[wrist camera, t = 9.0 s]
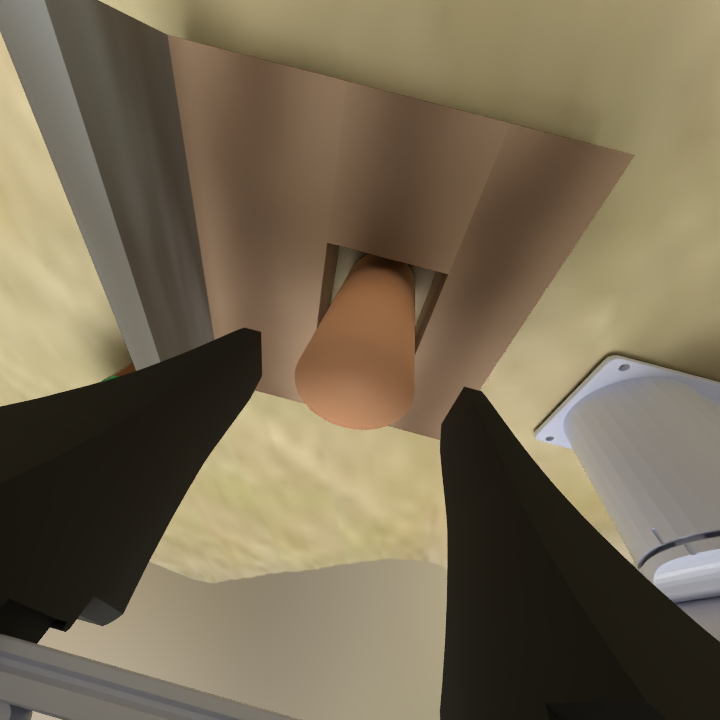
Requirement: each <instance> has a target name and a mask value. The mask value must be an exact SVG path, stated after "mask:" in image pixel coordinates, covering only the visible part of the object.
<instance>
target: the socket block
mask: <svg viewBox="0 0 720 720" xmlns="http://www.w3.org/2000/svg"><path fill="white" fill-rule="evenodd" d="M0 32H1V34H2V37H3V39H4V42H5V44H6V47H7V49H8V52H9V54H10V57H11V59H12V62H13V64H14V67H15V69H16V72H17V74H18V77H19V79H20V82H21V84H22V87H23V89H24V91H25V94H26V96H27V99H28V101H29V104H30V106H31V109H32V111H33V114H34V116H35V119H36V121H37V124H38V126H39V129H40V131H41V134H42V136H43V139H44V141H45V144H46V146H47V149H48V151H49V154H50V156H51V159H52V161H53V164H54V166H55V169H56V171H57V174H58V176H59V179H60V181H61V184H62V186H63V189H64V191H65V194H66V196H67V199H68V201H69V204H70V206H71V209H72V211H73V214H74V216H75V219H76V221H77V224H78V226H79V229H80V231H81V234H82V236H83V239H84V241H85V244H86V246H87V249H88V251H89V254H90V256H91V259H92V261H93V264H94V266H95V269H96V271H97V274H98V276H99V279H100V281H101V284H102V286H103V289H104V291H105V294H106V296H107V299H108V301H109V304H110V306H111V309H112V311H113V314H114V316H115V319H116V321H117V324H118V326H119V329H120V331H121V334H122V336H123V339H124V341H125V344H126V346H127V349H128V351H129V354H130V356H131V359H132V361H133V364H134V366H135V369H136V371H137V370H140V369H143V368H146V367H149V366H151V365H154V364H157V363H159V362H162V361H164V360H167V359H170V358H172V357H175V356H177V355H180V354H183V353H185V352H187V351H190V350H192V349H194V348H197V347H199V346H201V345H204V344H206V343H208V342H211V341H213V340H215V339H218V338H220V337H222V336H224V335H227V334H229V333H231V332H234V331H236V330H239V329H241V328H244V327H245V328H249V329H252V330H256V331H260V332H261V345H262V377H261V379H260V381H259V383H258V385H257V387H256V389H255V390H256V391H260V392H263V393H267V394H271V395H274V396H278V397H282V398H286V399H289V400H293V401H297V402H301V403H304V401H303V400H302V399H301V397H300V395H299V393H298V391H297V388H296V384H295V369H296V365H297V363H298V361H299V359H300V357H301V355H302V354H303V352H304V350H305V348H306V347H307V345H308V343H309V342H310V340H311V338H312V336H313V335H314V333H315V331H316V330H317V328H318V326H319V324H320V323H321V321H322V319H323V317H324V316H325V314H326V312H327V311H328V309H329V307H330V303H331V297H332V290H333V283H334V276H335V270H336V263H337V256H338V250H339V246H342V247H346V248H350V249H353V250H357V251H361V252H365V253H369V254H373V255H376V256H380V257H384V258H388V259H392V260H395V261H399V262H403V263H407V264H411V265H414V266H418V267H422V268H426V269H430V270H433V271H437V273H436V275H435V278H434V280H433V283H432V286H431V288H430V291H429V293H428V296H427V299H426V301H425V304H424V306H423V309H422V312H421V314H420V317H419V319H418V322H417V325H416V327H415V391H414V399H413V402H412V405H411V407H410V409H409V410H408V411H407V413H406V414H405V415H404V416H403V417H402V418H400V419H399V420H398V421H396V422H394V423H392V424H390V425H388V426H390V427H394V428H398V429H401V430H405V431H409V432H413V433H416V434H420V435H424V436H427V437H431V438H435V439H439V440H440V437H441V424H442V422H443V420H444V419H445V417H446V415H447V414H448V412H449V410H450V409H451V407H452V406H453V404H454V402H455V401H456V399H457V397H458V396H459V394H460V392H461V391H462V389H463V387H468V388H472V389H475V390H480V388H481V387H482V385H483V384H484V382H485V381H486V379H487V378H488V376H489V375H490V373H491V372H492V370H493V369H494V367H495V366H496V364H497V363H498V361H499V359H500V358H501V356H502V355H503V353H504V352H505V350H506V349H507V347H508V346H509V344H510V343H511V341H512V340H513V338H514V337H515V335H516V334H517V332H518V331H519V329H520V328H521V326H522V325H523V323H524V322H525V320H526V319H527V317H528V316H529V314H530V313H531V311H532V310H533V308H534V307H535V305H536V304H537V302H538V301H539V299H540V298H541V296H542V295H543V293H544V292H545V290H546V288H547V287H548V285H549V284H550V282H551V281H552V279H553V278H554V276H555V275H556V273H557V272H558V270H559V269H560V267H561V266H562V264H563V263H564V261H565V260H566V258H567V257H568V255H569V254H570V252H571V251H572V249H573V248H574V246H575V245H576V243H577V242H578V240H579V239H580V237H581V236H582V234H583V233H584V231H585V230H586V228H587V227H588V225H589V224H590V222H591V221H592V219H593V217H594V216H595V214H596V213H597V211H598V210H599V208H600V207H601V205H602V204H603V202H604V201H605V199H606V198H607V196H608V195H609V193H610V192H611V190H612V189H613V187H614V186H615V184H616V183H617V181H618V180H619V178H620V177H621V175H622V174H623V172H624V171H625V169H626V168H627V166H628V165H629V163H630V162H631V160H632V159H633V157H634V156H635V155H632V154H628V153H624V152H620V151H617V150H613V149H609V148H605V147H601V146H597V145H593V144H589V143H585V142H582V141H578V140H574V139H570V138H566V137H562V136H558V135H554V134H550V133H547V132H543V131H539V130H535V129H531V128H527V127H523V126H519V125H515V124H512V123H508V122H504V121H500V120H496V119H492V118H488V117H484V116H480V115H477V114H473V113H469V112H465V111H461V110H457V109H453V108H449V107H445V106H442V105H438V104H434V103H430V102H426V101H422V100H418V99H414V98H410V97H407V96H403V95H399V94H395V93H391V92H387V91H383V90H379V89H376V88H372V87H368V86H364V85H360V84H356V83H352V82H348V81H344V80H341V79H337V78H333V77H329V76H325V75H321V74H317V73H313V72H309V71H306V70H302V69H298V68H294V67H290V66H286V65H282V64H278V63H274V62H271V61H267V60H263V59H259V58H255V57H251V56H247V55H243V54H239V53H236V52H232V51H228V50H224V49H220V48H216V47H212V46H208V45H204V44H201V43H197V42H193V41H189V40H185V39H181V38H177V37H173V36H169V35H166V34H164V33H162V32H160V31H158V30H156V29H154V28H152V27H150V26H148V25H146V24H144V23H142V22H140V21H138V20H136V19H134V18H132V17H130V16H128V15H126V14H124V13H122V12H120V11H118V10H116V9H114V8H112V7H110V6H108V5H106V4H104V3H102V2H100V1H98V0H0ZM304 404H305V403H304Z"/></svg>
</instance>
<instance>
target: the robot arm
mask: <svg viewBox="0 0 720 720" xmlns="http://www.w3.org/2000/svg"><path fill="white" fill-rule="evenodd" d="M624 364H625V365H624ZM621 365H623V366H622V367H620V366H621ZM261 377H262V345H261V332H260V331H256V330H252V329H249V328H245V327H244V328H241V329H239V330H236V331H234V332H231V333H229V334H227V335H224V336H222V337H220V338H218V339H215V340H213V341H211V342H208V343H206V344H204V345H201V346H199V347H197V348H194V349H192V350H190V351H187V352H185V353H183V354H180V355H177V356H175V357H172V358H170V359H167V360H164V361H162V362H159V363H157V364H154V365H151V366H149V367H146V368H143V369H140V370H137V371H134V372H131V373H128V374H125V375H122V376H119V377H116V378H112V379H109V380H106V381H103V382H99V383H96V384H92V385H89V386H85V387H81V388H77V389H73V390H69V391H65V392H61V393H57V394H54V395H50V396H46V397H42V398H38V399H33V400H29V401H24V402H20V403H15V404H10V405H6V406H1V407H0V720H31V717H32V711H35V712H39V713H42V714H45V715H49V716H52V717H56V718H59V719H63V720H301V719H297V718H293V717H290V716H287V715H283V714H280V713H276V712H273V711H269V710H266V709H262V708H259V707H255V706H252V705H248V704H245V703H241V702H238V701H234V700H231V699H227V698H224V697H220V696H217V695H213V694H210V693H206V692H203V691H199V690H196V689H192V688H189V687H185V686H182V685H178V684H175V683H172V682H168V681H164V680H161V679H158V678H154V677H150V676H147V675H144V674H140V673H136V672H133V671H130V670H126V669H122V668H119V667H116V666H112V665H108V664H105V663H102V662H98V661H95V660H91V659H88V658H84V657H81V656H77V655H74V654H70V653H67V652H63V651H59V650H56V649H53V648H49V647H46V646H42V645H39V644H37V643H38V642H39V640H40V639H41V638H42V637H43V635H44V634H45V633H46V631H47V630H48V629H49V628H50V627H51V628H54V629H58V630H61V631H65V632H66V631H67V630H68V629H70V627H71V626H72V625H73V624H74V622H75V621H76V619H79V620H83V621H86V622H90V623H94V624H97V625H100V626H104V625H107V624H109V623H110V622H112V621H114V620H115V619H117V618H118V617H120V616H121V615H122V614H123V613H124V611H125V609H126V607H127V605H128V603H129V601H130V599H131V597H132V595H133V593H134V590H135V588H136V586H137V584H138V582H139V580H140V578H141V576H142V574H143V572H144V570H145V568H146V566H147V564H148V562H149V560H150V558H151V556H152V555H153V553H154V551H155V549H156V547H157V545H158V543H159V541H160V539H161V538H162V536H163V534H164V532H165V530H166V528H167V526H168V524H169V522H170V521H171V519H172V517H173V515H174V514H175V512H176V510H177V508H178V506H179V505H180V503H181V501H182V499H183V498H184V496H185V494H186V492H187V490H188V489H189V487H190V485H191V484H192V482H193V480H194V479H195V477H196V475H197V474H198V472H199V470H200V469H201V467H202V465H203V463H204V462H205V461H206V459H207V458H208V456H209V455H210V453H211V452H212V450H213V449H214V447H215V446H216V445H217V443H218V442H219V441H220V439H221V438H222V437H223V435H224V434H225V432H226V431H227V430H228V428H229V427H230V426H231V424H232V423H233V422H234V420H235V419H236V417H237V416H238V415H239V413H240V412H241V411H242V409H243V408H244V406H245V405H246V404H247V402H248V401H249V399H250V398H251V396H252V394H253V392H254V390H255V389H256V387H257V385H258V383H259V381H260V379H261ZM534 436H535V438H536V439H537V440H539V441H543V442H547V443H550V444H554V445H558V446H562V447H565V448H569V449H573V450H574V451H575V453H576V455H577V457H578V459H579V461H580V463H581V464H582V466H583V468H584V470H585V472H586V474H587V475H588V477H589V479H590V481H591V483H592V485H593V486H594V488H595V490H596V492H597V494H598V496H599V498H600V499H601V501H602V503H603V505H604V507H605V509H606V510H607V512H608V514H609V516H610V518H611V520H612V522H613V523H614V525H615V527H616V529H617V531H618V533H619V534H620V536H621V538H622V540H623V542H624V544H625V546H626V547H627V549H628V551H629V553H630V555H631V557H632V558H633V560H634V562H635V564H636V566H637V568H638V570H637V569H636V568H635V567H634V566H633V565H632V564H631V563H630V562H629V561H628V560H627V559H626V558H624V557H623V556H622V555H621V554H620V553H619V552H618V551H617V550H616V549H615V548H614V547H613V546H612V545H611V544H610V543H609V542H608V541H607V540H606V539H605V538H604V537H603V536H602V535H601V534H600V533H599V532H598V531H597V530H596V529H595V528H594V527H593V526H592V525H591V524H590V523H589V522H588V521H587V520H586V519H585V518H584V517H583V516H582V515H581V514H580V513H579V512H578V510H577V509H576V508H575V507H574V506H573V505H572V504H571V503H570V502H569V501H568V500H567V499H566V498H565V496H564V495H563V494H562V493H561V492H560V491H559V490H558V489H557V488H556V486H555V485H554V484H553V483H552V482H551V481H550V479H549V478H548V477H547V476H546V475H545V473H544V472H543V471H542V470H541V469H540V467H539V466H538V465H537V464H536V463H535V461H534V460H533V459H532V458H531V456H530V455H529V454H528V452H527V451H526V450H525V449H524V447H523V446H522V445H521V443H520V442H519V441H518V439H517V438H516V437H515V436H514V434H513V433H512V431H511V430H510V429H509V427H508V426H507V425H506V423H505V422H504V421H503V419H502V418H501V416H500V415H499V414H498V412H497V411H496V410H495V408H494V407H493V405H492V404H491V403H490V401H489V400H488V399H487V397H486V396H485V395H484V394H483V392H482V391H479V390H475V389H472V388H468V387H463V389H462V391H461V392H460V394H459V396H458V397H457V399H456V401H455V402H454V404H453V406H452V407H451V409H450V410H449V412H448V414H447V415H446V417H445V419H444V420H443V422H442V424H441V437H440V455H441V466H442V476H443V486H444V495H445V505H446V515H447V531H448V572H447V612H446V635H445V636H446V637H445V652H444V668H443V683H442V694H441V706H440V720H720V382H718V381H714V380H710V379H706V378H702V377H699V376H695V375H691V374H687V373H683V372H680V371H676V370H672V369H668V368H664V367H661V366H657V365H653V364H649V363H646V362H642V361H638V360H634V359H630V358H627V357H623V356H619V355H613V356H610V357H607V358H606V359H605V360H604V361H603V362H602V363H601V364H600V365H599V366H598V367H597V368H596V369H595V370H594V371H593V372H592V373H591V374H590V375H589V376H588V377H587V378H586V379H585V380H584V381H583V382H582V383H581V384H580V385H579V387H578V388H577V389H576V390H575V391H574V392H573V393H572V394H571V395H570V396H569V397H568V398H567V399H566V400H565V401H564V402H563V403H562V404H561V405H560V406H559V407H558V408H557V409H556V410H555V411H554V412H553V413H552V414H551V415H550V417H549V418H548V419H547V420H546V421H545V422H544V423H543V424H542V425H541V426H540V427H539V428H538V429H537V430H536V431H535V432H534Z"/></svg>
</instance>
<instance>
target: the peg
mask: <svg viewBox="0 0 720 720" xmlns="http://www.w3.org/2000/svg"><path fill="white" fill-rule="evenodd" d="M295 384H296V388H297V391H298V393H299V395H300V397H301V399H302V400H303V401H304V403H305V404H306V405H307V406H308V407H309V408H310V409H311V410H312V411H313V412H314V413H316V414H317V415H318V416H320V417H321V418H323V419H325V420H327V421H329V422H331V423H333V424H336V425H338V426H342V427H345V428H351V429H359V430H369V429H377V428H382V427H385V426H388V425H390V424H392V423H394V422H396V421H398V420H399V419H400V418H402V417H403V416H404V415H405V414H406V413H407V411H408V410H409V409H410V407H411V405H412V402H413V399H414V391H415V280H414V276H413V273H412V271H411V269H410V268H409V266H408V265H407V264H406V263H403V262H399V261H395V260H392V259H388V258H384V257H380V256H376V255H373V254H369V255H367V256H365V257H363V258H361V259H360V260H359V261H358V262H357V263H356V264H355V265H354V266H353V268H352V269H351V271H350V273H349V274H348V276H347V278H346V280H345V281H344V283H343V285H342V286H341V288H340V290H339V292H338V293H337V295H336V297H335V299H334V300H333V302H332V304H331V305H330V307H329V309H328V311H327V312H326V314H325V316H324V317H323V319H322V321H321V323H320V324H319V326H318V328H317V330H316V331H315V333H314V335H313V336H312V338H311V340H310V342H309V343H308V345H307V347H306V348H305V350H304V352H303V354H302V355H301V357H300V359H299V361H298V363H297V365H296V369H295Z"/></svg>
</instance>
